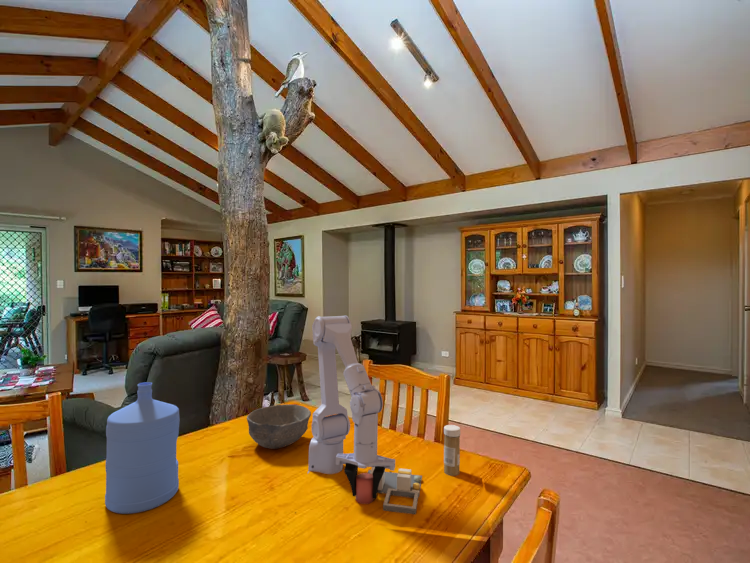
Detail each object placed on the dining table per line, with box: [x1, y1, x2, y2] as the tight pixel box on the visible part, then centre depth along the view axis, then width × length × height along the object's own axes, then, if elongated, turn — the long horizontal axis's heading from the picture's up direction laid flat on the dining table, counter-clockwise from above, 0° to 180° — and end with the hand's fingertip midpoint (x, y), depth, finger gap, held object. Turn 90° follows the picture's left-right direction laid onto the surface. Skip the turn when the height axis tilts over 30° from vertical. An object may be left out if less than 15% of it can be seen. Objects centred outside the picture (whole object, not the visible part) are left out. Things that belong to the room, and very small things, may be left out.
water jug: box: [104, 381, 181, 515], centre depth 97 cm, size 16×16×28 cm
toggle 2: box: [397, 467, 412, 491], centre depth 100 cm, size 3×4×4 cm
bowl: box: [246, 404, 312, 450], centre depth 130 cm, size 21×21×10 cm
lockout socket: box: [382, 488, 419, 515], centre depth 95 cm, size 8×8×2 cm
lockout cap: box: [355, 472, 375, 505], centre depth 96 cm, size 4×4×6 cm
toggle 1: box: [370, 467, 386, 490], centre depth 102 cm, size 3×4×4 cm
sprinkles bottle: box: [443, 424, 461, 477], centre depth 111 cm, size 5×5×13 cm
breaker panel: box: [367, 469, 423, 498], centre depth 104 cm, size 15×11×2 cm
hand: (364, 495), depth 96 cm, fingers closed on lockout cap, 4 cm apart
